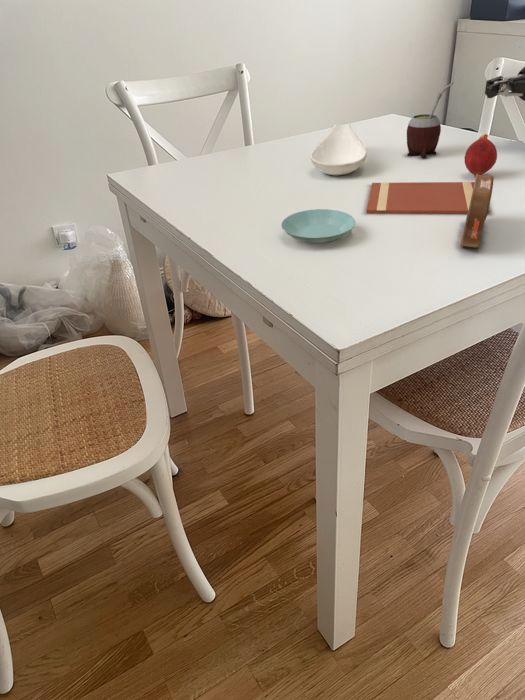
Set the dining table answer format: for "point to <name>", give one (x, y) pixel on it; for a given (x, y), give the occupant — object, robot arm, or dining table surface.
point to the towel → (420, 198)
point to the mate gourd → (424, 132)
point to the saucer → (318, 225)
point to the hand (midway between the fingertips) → (511, 93)
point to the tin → (477, 211)
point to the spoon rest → (339, 152)
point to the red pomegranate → (480, 156)
